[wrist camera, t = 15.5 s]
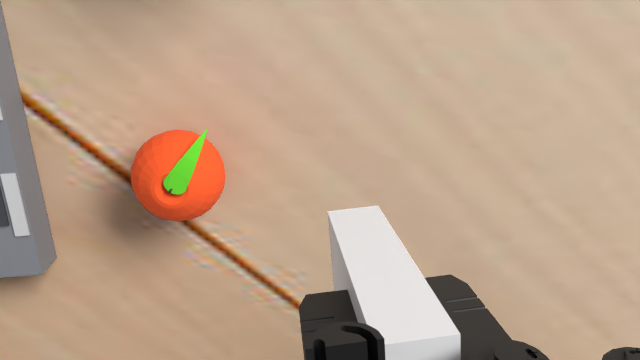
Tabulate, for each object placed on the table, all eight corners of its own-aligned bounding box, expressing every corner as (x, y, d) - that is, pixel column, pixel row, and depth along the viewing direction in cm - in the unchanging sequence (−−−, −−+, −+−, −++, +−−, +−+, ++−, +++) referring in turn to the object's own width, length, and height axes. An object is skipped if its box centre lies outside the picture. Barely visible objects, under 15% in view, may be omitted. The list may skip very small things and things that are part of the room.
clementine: (173, 94, 40) (155, 110, 33) (250, 138, 42) (247, 162, 35) (127, 177, 42) (101, 207, 35) (202, 216, 44) (191, 253, 37)
